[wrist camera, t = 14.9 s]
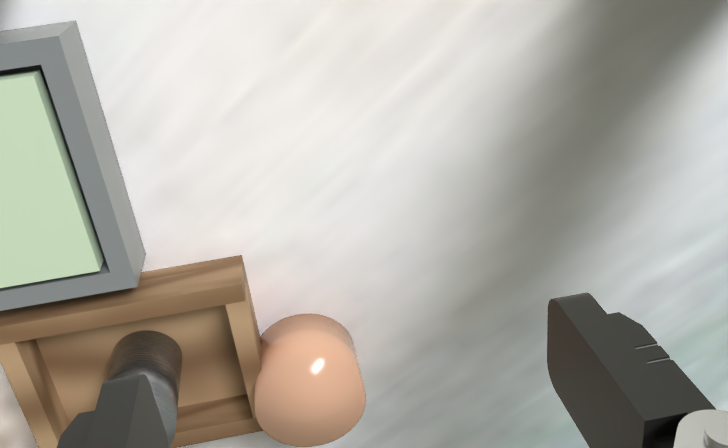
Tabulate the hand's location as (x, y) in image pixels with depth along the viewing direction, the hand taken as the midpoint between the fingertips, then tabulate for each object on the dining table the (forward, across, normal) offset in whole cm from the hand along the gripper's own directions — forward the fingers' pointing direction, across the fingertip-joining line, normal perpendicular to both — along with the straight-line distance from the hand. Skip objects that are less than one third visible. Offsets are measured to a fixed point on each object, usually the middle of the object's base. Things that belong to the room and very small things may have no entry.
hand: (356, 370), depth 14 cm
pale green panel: (+25, +16, +4) cm, 30 cm away
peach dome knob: (+28, +2, +21) cm, 35 cm away
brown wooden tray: (+28, +12, +18) cm, 35 cm away
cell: (+27, +12, +18) cm, 35 cm away
